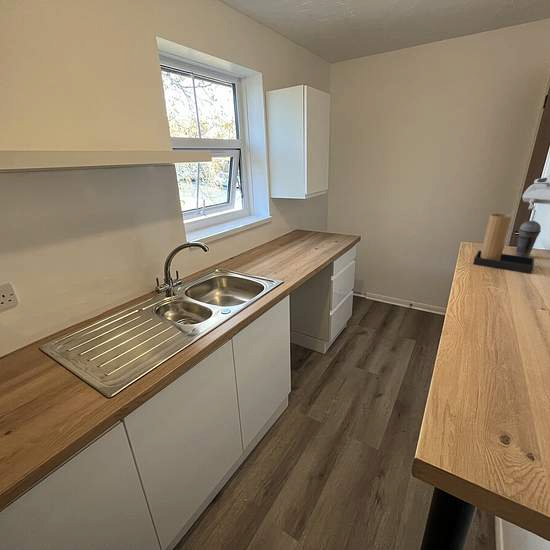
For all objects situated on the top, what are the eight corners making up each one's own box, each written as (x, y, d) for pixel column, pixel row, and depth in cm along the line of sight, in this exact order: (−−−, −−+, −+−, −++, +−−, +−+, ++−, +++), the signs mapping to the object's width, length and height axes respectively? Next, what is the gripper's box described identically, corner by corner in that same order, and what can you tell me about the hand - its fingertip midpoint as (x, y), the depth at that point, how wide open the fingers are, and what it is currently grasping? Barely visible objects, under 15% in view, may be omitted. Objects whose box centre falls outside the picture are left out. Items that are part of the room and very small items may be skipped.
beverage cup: (511, 257, 131) (524, 211, 124) (511, 252, 137) (523, 208, 129) (533, 259, 127) (548, 212, 120) (532, 254, 133) (546, 209, 125)
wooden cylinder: (496, 260, 128) (508, 213, 121) (501, 266, 122) (514, 217, 115) (477, 259, 131) (488, 213, 123) (481, 264, 125) (493, 216, 117)
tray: (532, 265, 122) (534, 258, 121) (531, 273, 114) (533, 266, 113) (477, 256, 133) (478, 250, 132) (473, 264, 125) (474, 257, 124)
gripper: (592, 192, 124) (575, 219, 123) (532, 188, 140) (517, 212, 139) (592, 181, 120) (575, 209, 119) (531, 179, 136) (515, 203, 135)
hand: (543, 210), depth 129 cm, fingers open, 8 cm apart
